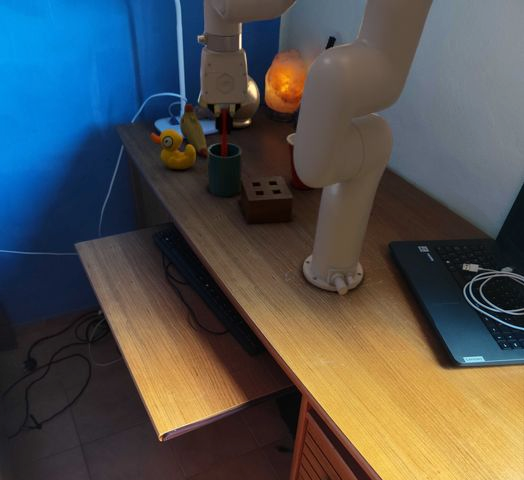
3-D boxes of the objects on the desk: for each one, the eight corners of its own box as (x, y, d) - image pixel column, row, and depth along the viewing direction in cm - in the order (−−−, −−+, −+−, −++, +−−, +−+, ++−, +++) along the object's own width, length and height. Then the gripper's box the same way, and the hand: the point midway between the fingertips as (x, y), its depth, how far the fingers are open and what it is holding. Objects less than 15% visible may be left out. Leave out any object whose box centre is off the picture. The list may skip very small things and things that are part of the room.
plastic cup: (323, 176, 127) (330, 131, 118) (323, 195, 120) (330, 149, 111) (284, 172, 128) (288, 127, 119) (281, 191, 120) (285, 145, 111)
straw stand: (290, 220, 111) (293, 197, 107) (248, 223, 109) (248, 200, 105) (280, 198, 118) (282, 176, 114) (240, 201, 116) (240, 178, 112)
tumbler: (244, 195, 118) (244, 156, 111) (211, 197, 117) (209, 158, 109) (238, 179, 124) (238, 142, 116) (206, 181, 122) (205, 143, 115)
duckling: (152, 170, 125) (147, 132, 117) (157, 161, 128) (152, 124, 121) (194, 174, 125) (192, 136, 117) (198, 164, 128) (195, 127, 121)
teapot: (264, 131, 145) (267, 73, 133) (223, 135, 142) (222, 75, 130) (247, 109, 157) (248, 54, 145) (208, 112, 153) (206, 56, 141)
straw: (227, 167, 116) (227, 108, 105) (222, 167, 116) (221, 109, 105) (226, 165, 117) (226, 106, 106) (221, 165, 117) (220, 106, 106)
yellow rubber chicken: (215, 159, 131) (214, 122, 124) (196, 161, 129) (194, 124, 122) (192, 130, 143) (190, 95, 136) (175, 133, 142) (172, 97, 134)
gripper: (187, 47, 92) (192, 140, 106) (263, 47, 95) (259, 137, 109) (183, 36, 97) (189, 126, 111) (256, 36, 100) (253, 124, 114)
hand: (224, 131), depth 110 cm, fingers closed on straw, 1 cm apart
